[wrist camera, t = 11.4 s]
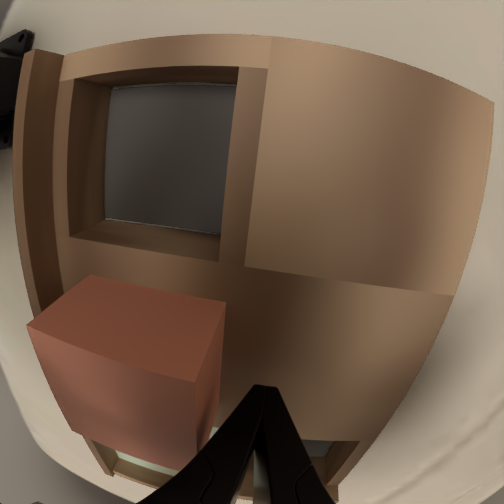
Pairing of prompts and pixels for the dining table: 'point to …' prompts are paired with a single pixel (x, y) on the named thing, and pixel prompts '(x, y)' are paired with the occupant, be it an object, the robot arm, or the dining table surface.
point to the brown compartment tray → (260, 212)
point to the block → (134, 366)
